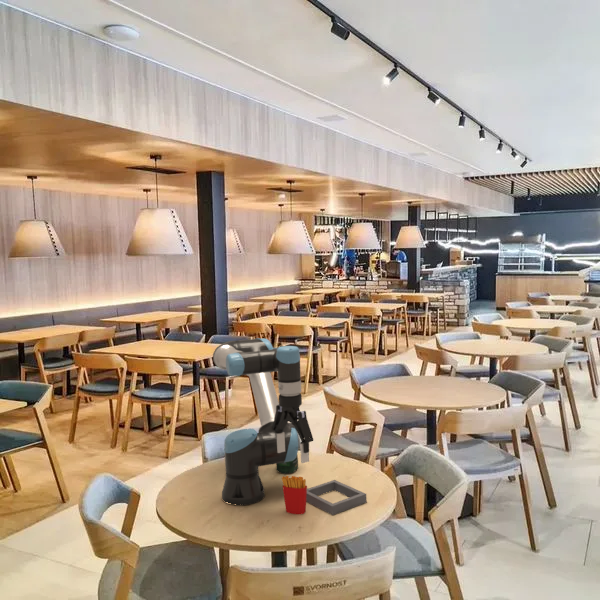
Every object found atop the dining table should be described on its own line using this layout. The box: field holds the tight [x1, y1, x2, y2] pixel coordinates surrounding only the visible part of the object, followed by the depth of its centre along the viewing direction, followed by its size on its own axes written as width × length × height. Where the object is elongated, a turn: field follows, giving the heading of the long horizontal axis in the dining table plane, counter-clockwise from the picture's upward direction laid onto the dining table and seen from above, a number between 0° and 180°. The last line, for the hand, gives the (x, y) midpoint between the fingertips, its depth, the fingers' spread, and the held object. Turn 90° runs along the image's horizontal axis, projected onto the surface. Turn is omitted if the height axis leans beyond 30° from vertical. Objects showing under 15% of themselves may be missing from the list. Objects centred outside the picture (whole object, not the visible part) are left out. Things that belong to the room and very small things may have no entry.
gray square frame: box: [306, 479, 367, 516], centre depth 200 cm, size 17×15×3 cm
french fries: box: [281, 475, 308, 515], centre depth 193 cm, size 8×4×12 cm, turn 69°
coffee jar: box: [275, 422, 299, 475], centre depth 231 cm, size 10×8×19 cm
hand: (292, 457), depth 192 cm, fingers open, 13 cm apart
